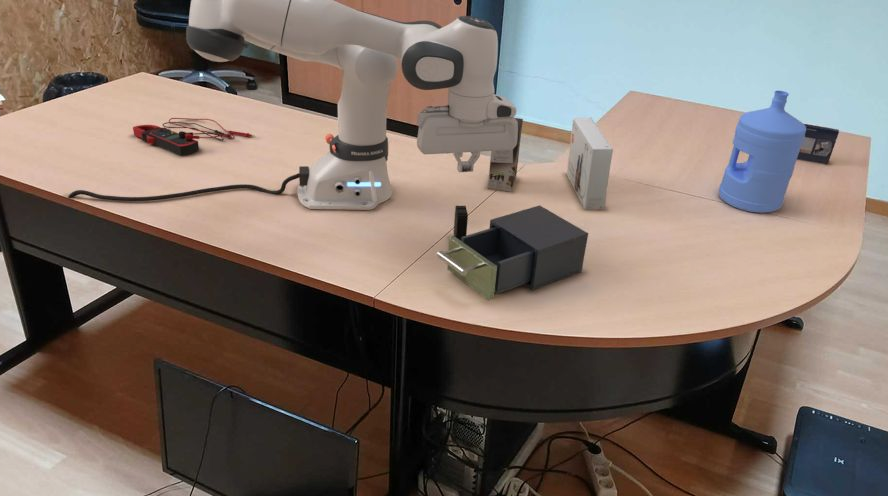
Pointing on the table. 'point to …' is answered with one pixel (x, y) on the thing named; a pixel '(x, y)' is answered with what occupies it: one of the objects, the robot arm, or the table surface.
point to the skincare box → (589, 163)
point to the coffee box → (505, 165)
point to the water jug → (763, 158)
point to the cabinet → (546, 243)
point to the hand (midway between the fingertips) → (465, 170)
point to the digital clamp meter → (178, 137)
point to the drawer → (489, 261)
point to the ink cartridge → (460, 222)
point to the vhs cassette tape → (818, 144)
